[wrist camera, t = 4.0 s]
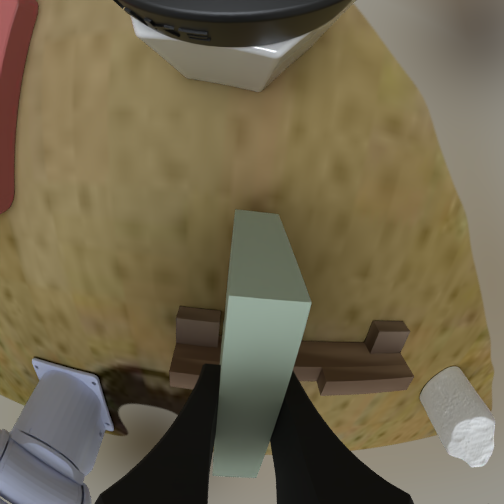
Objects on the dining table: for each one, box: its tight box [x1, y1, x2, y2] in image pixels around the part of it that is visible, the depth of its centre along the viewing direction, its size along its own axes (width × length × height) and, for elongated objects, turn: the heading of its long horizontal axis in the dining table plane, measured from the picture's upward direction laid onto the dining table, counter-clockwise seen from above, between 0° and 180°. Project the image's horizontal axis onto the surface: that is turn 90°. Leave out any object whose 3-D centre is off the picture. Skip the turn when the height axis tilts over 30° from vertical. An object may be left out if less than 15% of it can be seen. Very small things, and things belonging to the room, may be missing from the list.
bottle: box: [420, 366, 495, 467], centre depth 22 cm, size 6×12×6 cm
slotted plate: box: [213, 209, 312, 478], centre depth 13 cm, size 10×2×8 cm, turn 173°
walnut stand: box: [169, 306, 414, 396], centre depth 21 cm, size 6×18×4 cm, turn 83°
